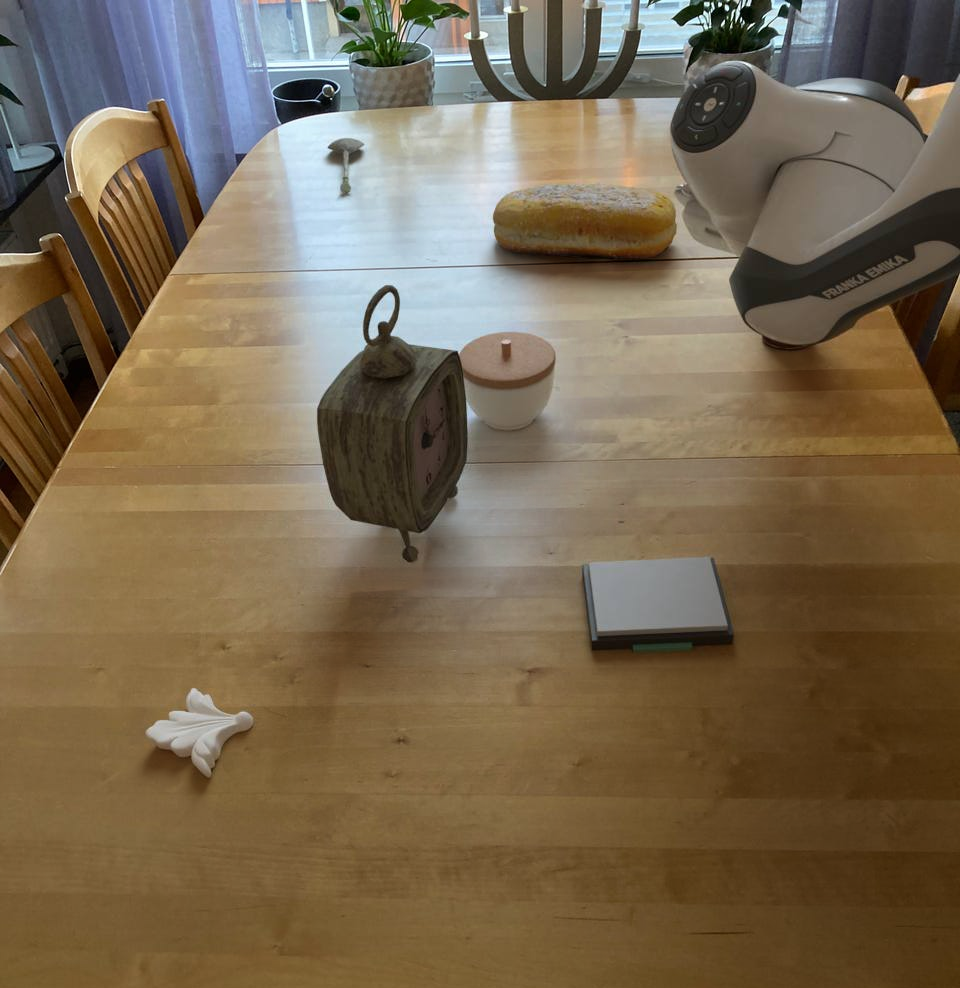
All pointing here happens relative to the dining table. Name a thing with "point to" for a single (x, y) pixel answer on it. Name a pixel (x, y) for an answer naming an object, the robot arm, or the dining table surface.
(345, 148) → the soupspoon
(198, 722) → the acanthus leaf ornament
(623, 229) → the bread
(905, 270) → the robot arm
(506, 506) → the dining table surface
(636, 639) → the scale
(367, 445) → the tabletop clock
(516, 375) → the trinket box
